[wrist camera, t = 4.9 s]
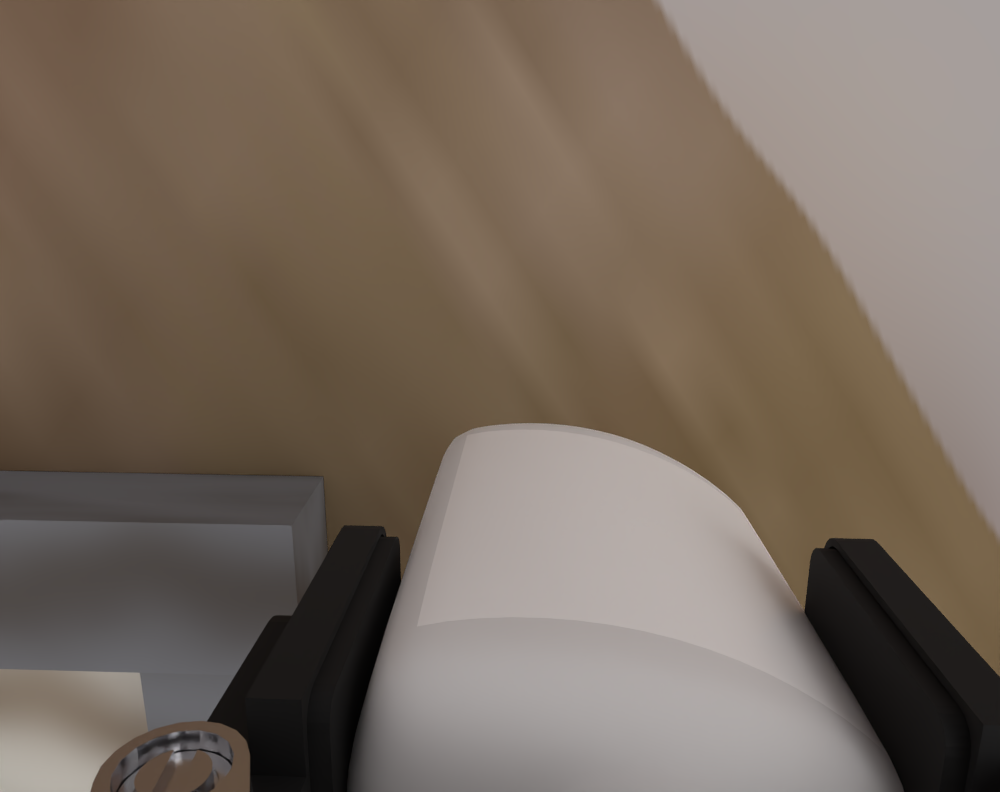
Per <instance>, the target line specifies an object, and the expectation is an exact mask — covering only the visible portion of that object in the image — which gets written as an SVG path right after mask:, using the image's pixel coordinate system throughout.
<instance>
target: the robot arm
mask: <svg viewBox="0 0 1000 792" xmlns="http://www.w3.org/2000/svg"><path fill="white" fill-rule="evenodd" d="M400 584H401V572H400V544H399V539H398V537H386V532H385V529H384V527H382V526H347V525H344V526H343V527H342V529H341V531H340V532H339V534H338V536H337V538H336V539H335V541H334V543H333V545H332V546H331V548H330V550H329V552H328V553H327V555H326V557H325V559H324V560H323V562H322V564H321V566H320V567H319V569H318V571H317V573H316V574H315V576H314V578H313V580H312V581H311V583H310V585H309V587H308V588H307V590H306V592H305V594H304V595H303V597H302V599H301V601H300V602H299V604H298V606H297V608H296V609H295V611H294V613H293V615H275V616H273V617H272V618H271V619H270V620H269V621H268V623H267V624H266V626H265V628H264V629H263V631H262V633H261V634H260V636H259V637H258V639H257V641H256V642H255V644H254V646H253V647H252V649H251V650H250V652H249V654H248V655H247V657H246V659H245V660H244V662H243V663H242V665H241V667H240V668H239V670H238V672H237V673H236V675H235V676H234V678H233V680H232V681H231V683H230V685H229V686H228V688H227V689H226V691H225V693H224V694H223V696H222V698H221V699H220V701H219V702H218V704H217V706H216V707H215V709H214V710H213V712H212V714H211V715H210V717H209V719H208V720H207V722H206V721H192V722H179V723H175V724H171V725H167V726H163V727H159V728H156V729H154V730H151V731H149V732H147V733H145V734H142V735H140V736H138V737H135V738H134V739H132V740H131V741H129V742H128V743H126V744H125V745H123V746H122V747H120V748H119V749H117V750H116V751H115V752H114V753H113V754H112V755H111V756H110V757H109V758H108V759H107V760H106V761H105V762H104V763H103V764H102V765H101V767H100V769H99V771H98V773H97V775H96V777H95V779H94V781H93V784H92V788H91V792H347V779H348V768H349V763H350V758H351V752H352V747H353V742H354V737H355V732H356V729H357V725H358V721H359V718H360V714H361V710H362V707H363V703H364V700H365V696H366V693H367V689H368V686H369V682H370V679H371V676H372V672H373V669H374V666H375V662H376V659H377V656H378V653H379V649H380V646H381V643H382V640H383V636H384V633H385V630H386V627H387V623H388V620H389V617H390V614H391V611H392V608H393V605H394V602H395V599H396V596H397V593H398V590H399V587H400ZM805 614H806V616H807V618H808V619H809V621H810V623H811V624H812V626H813V628H814V629H815V631H816V633H817V634H818V636H819V638H820V639H821V641H822V643H823V644H824V646H825V648H826V649H827V651H828V653H829V654H830V656H831V658H832V659H833V661H834V663H835V664H836V666H837V668H838V669H839V671H840V673H841V674H842V676H843V678H844V679H845V681H846V683H847V684H848V686H849V688H850V689H851V691H852V693H853V695H854V696H855V698H856V700H857V701H858V703H859V705H860V707H861V708H862V710H863V712H864V714H865V715H866V717H867V719H868V721H869V722H870V724H871V726H872V728H873V729H874V731H875V733H876V735H877V736H878V738H879V740H880V741H881V743H882V745H883V747H884V748H885V750H886V752H887V754H888V755H889V757H890V759H891V761H892V763H893V766H894V768H895V770H896V772H897V774H898V777H899V779H900V781H901V784H902V786H903V790H904V792H1000V677H999V676H998V675H997V674H996V673H995V671H994V670H993V669H992V668H991V667H990V666H989V665H988V664H987V663H986V662H985V660H984V659H983V658H982V657H981V656H980V655H979V654H978V653H977V652H976V651H975V649H974V648H973V647H972V646H971V645H970V644H969V643H968V642H967V641H966V640H965V638H964V637H963V636H962V635H961V634H960V633H959V632H958V631H957V630H956V629H955V627H954V626H953V625H952V624H951V623H950V622H949V621H948V620H947V619H946V617H945V616H944V615H943V614H942V613H941V612H940V611H939V610H938V609H937V608H936V606H935V605H934V604H933V603H932V602H931V601H930V600H929V599H928V598H927V597H926V595H925V594H924V593H923V592H922V591H921V590H920V589H919V588H918V587H917V586H916V584H915V583H914V582H913V581H912V580H911V579H910V578H909V577H908V576H907V574H906V573H905V572H904V571H903V570H902V569H901V568H900V567H899V566H898V565H897V563H896V562H895V561H894V560H893V559H892V558H891V557H890V556H889V555H888V554H887V552H886V551H885V550H884V549H883V548H882V547H881V546H880V545H879V544H878V543H877V542H876V541H875V540H873V539H843V538H831V539H829V540H828V541H827V543H826V545H825V548H816V549H814V550H813V552H812V555H811V560H810V568H809V577H808V586H807V595H806V604H805Z"/></svg>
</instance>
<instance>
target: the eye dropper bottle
mask: <svg viewBox="0 0 1000 792" xmlns="http://www.w3.org/2000/svg"><path fill="white" fill-rule="evenodd" d="M347 792H904V790H903V786H902V784H901V781H900V779H899V777H898V774H897V772H896V770H895V768H894V766H893V763H892V761H891V759H890V757H889V755H888V754H887V752H886V750H885V748H884V747H883V745H882V743H881V741H880V740H879V738H878V736H877V735H876V733H875V731H874V729H873V728H872V726H871V724H870V722H869V721H868V719H867V717H866V715H865V714H864V712H863V710H862V708H861V707H860V705H859V703H858V701H857V700H856V698H855V696H854V695H853V693H852V691H851V689H850V688H849V686H848V684H847V683H846V681H845V679H844V678H843V676H842V674H841V673H840V671H839V669H838V668H837V666H836V664H835V663H834V661H833V659H832V658H831V656H830V654H829V653H828V651H827V649H826V648H825V646H824V644H823V643H822V641H821V639H820V638H819V636H818V634H817V633H816V631H815V629H814V628H813V626H812V624H811V623H810V621H809V619H808V618H807V616H806V614H805V612H804V610H803V608H802V607H801V605H800V603H799V602H798V600H797V599H796V597H795V595H794V594H793V592H792V590H791V589H790V587H789V586H788V584H787V582H786V581H785V579H784V577H783V576H782V574H781V573H780V571H779V569H778V568H777V566H776V564H775V563H774V561H773V560H772V558H771V556H770V555H769V553H768V551H767V550H766V548H765V546H764V545H763V543H762V542H761V540H760V538H759V537H758V535H757V534H756V532H755V530H754V529H753V527H752V525H751V524H750V522H749V521H748V519H747V517H746V516H745V514H744V513H743V511H742V510H741V508H740V507H739V506H738V505H737V504H735V503H734V502H733V501H732V500H731V499H730V498H729V497H728V496H727V495H726V494H725V493H723V492H722V491H721V490H719V489H718V488H717V487H716V486H714V485H713V484H712V483H710V482H709V481H708V480H706V479H705V478H703V477H702V476H700V475H699V474H697V473H696V472H695V471H693V470H691V469H690V468H688V467H686V466H685V465H683V464H681V463H680V462H678V461H676V460H674V459H672V458H670V457H668V456H666V455H664V454H663V453H661V452H658V451H656V450H654V449H652V448H649V447H647V446H645V445H642V444H640V443H637V442H634V441H632V440H629V439H626V438H623V437H620V436H617V435H613V434H609V433H605V432H601V431H597V430H592V429H587V428H582V427H575V426H568V425H558V424H543V423H519V424H503V425H491V426H485V427H480V428H474V429H471V430H469V431H467V432H465V433H463V434H461V435H459V436H457V437H456V438H454V440H453V441H452V443H451V444H450V446H449V447H448V449H447V450H446V452H445V454H444V456H443V459H442V462H441V465H440V468H439V471H438V473H437V476H436V479H435V482H434V485H433V488H432V491H431V494H430V497H429V500H428V503H427V506H426V509H425V512H424V515H423V518H422V521H421V524H420V527H419V530H418V533H417V536H416V539H415V542H414V545H413V548H412V551H411V554H410V557H409V560H408V563H407V566H406V569H405V572H404V575H403V578H402V581H401V584H400V587H399V590H398V593H397V596H396V599H395V602H394V605H393V608H392V611H391V614H390V617H389V620H388V623H387V627H386V630H385V633H384V636H383V640H382V643H381V646H380V649H379V653H378V656H377V659H376V662H375V666H374V669H373V672H372V676H371V679H370V682H369V686H368V689H367V693H366V696H365V700H364V703H363V707H362V710H361V714H360V718H359V721H358V725H357V729H356V732H355V737H354V742H353V747H352V752H351V758H350V763H349V768H348V779H347Z"/></svg>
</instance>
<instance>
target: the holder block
mask: <svg viewBox="0 0 1000 792" xmlns="http://www.w3.org/2000/svg"><path fill="white" fill-rule="evenodd" d="M327 553H328V547H327V531H326V514H325V498H324V482H323V477H319V476H263V475H207V474H151V473H95V472H39V471H0V792H91V788H92V784H93V781H94V779H95V777H96V775H97V773H98V771H99V769H100V767H101V765H102V764H103V763H104V762H105V761H106V760H107V759H108V758H109V757H110V756H111V755H112V754H113V753H114V752H115V751H116V750H117V749H119V748H120V747H122V746H123V745H125V744H126V743H128V742H129V741H131V740H132V739H134V738H135V737H138V736H140V735H142V734H145V733H147V732H149V731H151V730H154V729H156V728H159V727H163V726H167V725H171V724H175V723H179V722H192V721H206V722H207V720H208V719H209V717H210V715H211V714H212V712H213V710H214V709H215V707H216V706H217V704H218V702H219V701H220V699H221V698H222V696H223V694H224V693H225V691H226V689H227V688H228V686H229V685H230V683H231V681H232V680H233V678H234V676H235V675H236V673H237V672H238V670H239V668H240V667H241V665H242V663H243V662H244V660H245V659H246V657H247V655H248V654H249V652H250V650H251V649H252V647H253V646H254V644H255V642H256V641H257V639H258V637H259V636H260V634H261V633H262V631H263V629H264V628H265V626H266V624H267V623H268V621H269V620H270V619H271V618H272V617H273V616H275V615H293V613H294V611H295V609H296V608H297V606H298V604H299V602H300V601H301V599H302V597H303V595H304V594H305V592H306V590H307V588H308V587H309V585H310V583H311V581H312V580H313V578H314V576H315V574H316V573H317V571H318V569H319V567H320V566H321V564H322V562H323V560H324V559H325V557H326V555H327Z"/></svg>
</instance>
